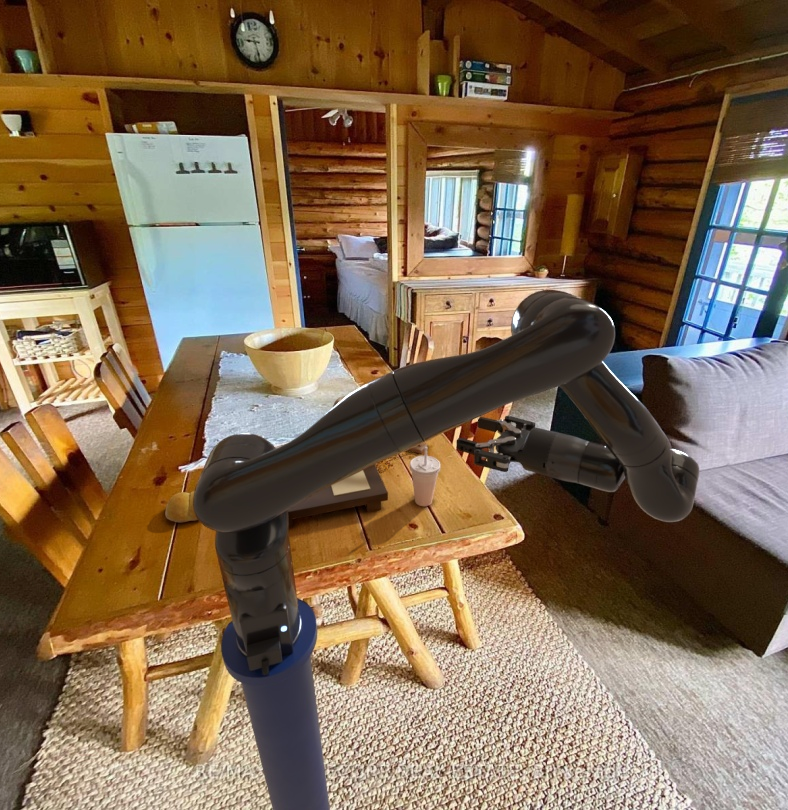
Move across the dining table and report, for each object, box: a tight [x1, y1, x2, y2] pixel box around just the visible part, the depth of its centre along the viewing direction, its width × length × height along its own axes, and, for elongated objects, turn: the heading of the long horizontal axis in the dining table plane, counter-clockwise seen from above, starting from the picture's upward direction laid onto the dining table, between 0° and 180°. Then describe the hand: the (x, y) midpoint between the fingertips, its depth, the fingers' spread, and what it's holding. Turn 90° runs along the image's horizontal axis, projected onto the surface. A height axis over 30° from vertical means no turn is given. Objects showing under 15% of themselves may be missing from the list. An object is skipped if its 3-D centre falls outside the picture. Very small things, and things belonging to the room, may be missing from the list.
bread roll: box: [164, 490, 199, 523], centre depth 90 cm, size 8×9×4 cm
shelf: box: [288, 464, 389, 529], centre depth 93 cm, size 12×24×4 cm, turn 109°
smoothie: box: [409, 446, 441, 507], centre depth 92 cm, size 6×6×14 cm
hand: (468, 432), depth 81 cm, fingers open, 8 cm apart
